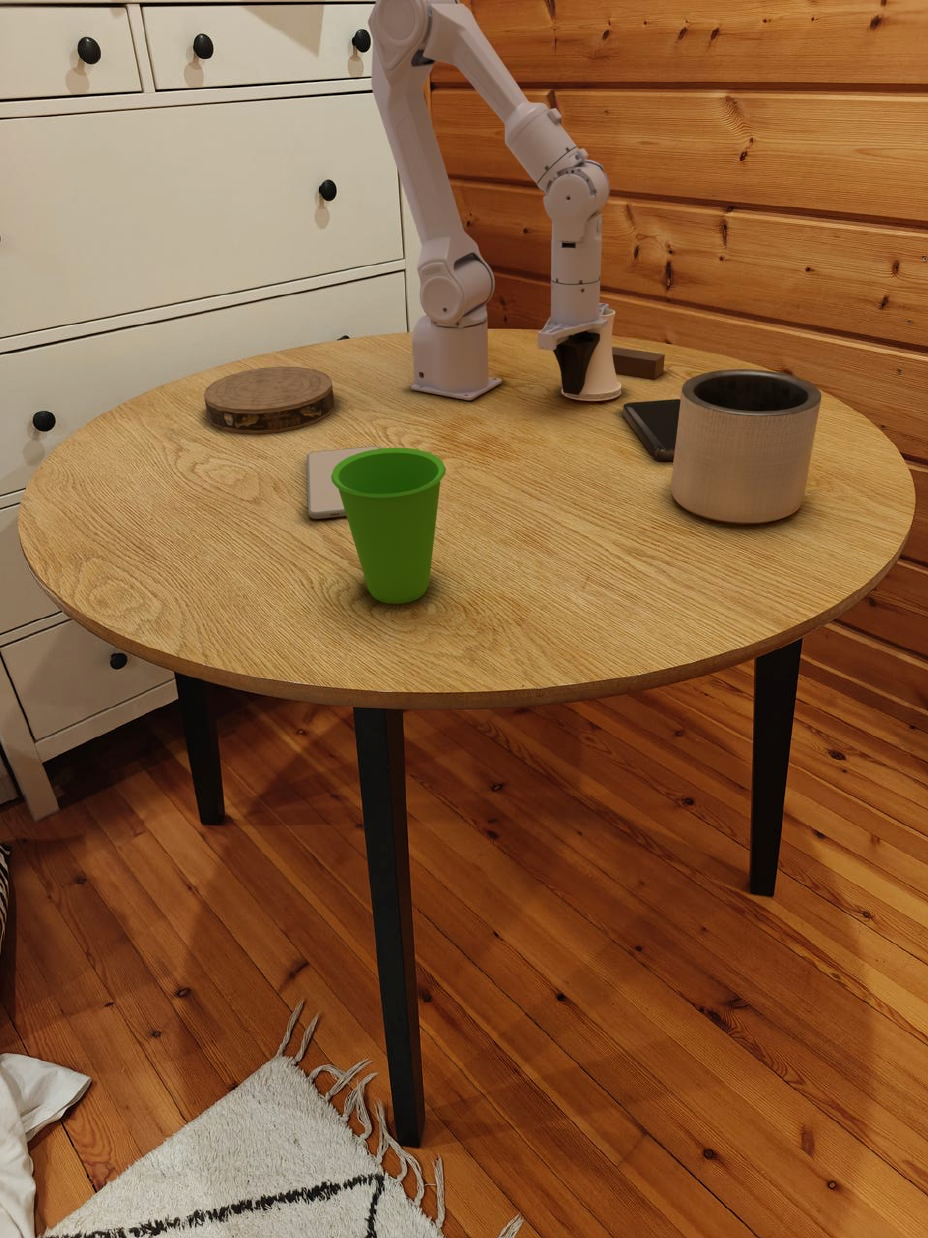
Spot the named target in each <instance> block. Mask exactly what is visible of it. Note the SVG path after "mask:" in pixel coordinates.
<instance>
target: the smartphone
mask: <svg viewBox="0 0 928 1238" xmlns="http://www.w3.org/2000/svg"><path fill="white" fill-rule="evenodd" d="M375 449H381V447H380V446H377V445H369V446H359V447H349V448H338V449H327V450H317V451H311V452H309V453H307V455H306V482H307V484H306V485H307V486H306V487H307V513H308V517H310V518H311V519H315V520H319V519H328V518H330V519H331V518H337V517H338V518H339V517H347V516H346V513H345V509H344V506H343V503H342V499H341V496H340V493H339V489H338V488H337V487H336V486H335V485H334V484H333V483H332V479H331V475H332V472H333V470H334V468H335V467H336V465H337V464H338V463H339V462H341V461H343V460H344V459H346V458H348V457H350V456H352V455H355V454H357V453H361V452H365V451H369V450H375Z"/></svg>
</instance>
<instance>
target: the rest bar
mask: <svg viewBox="0 0 928 1238" xmlns="http://www.w3.org/2000/svg"><path fill="white" fill-rule="evenodd" d="M612 357H613V364H614V369H615V373H616V374H619V375H626V376H632V377H637V378H645V379H649V380H656V379H657V378H658V377H660V376H661V375H663V374H664V371H665V360H666V359H665V357H666V354H664V353H657V352H650V351H643V350H637V349H631V348H624V347H623V348H622V347H617V346H612Z"/></svg>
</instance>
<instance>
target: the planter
mask: <svg viewBox="0 0 928 1238" xmlns="http://www.w3.org/2000/svg"><path fill="white" fill-rule="evenodd" d="M680 399H681V401H680V411H679V420H678V429H677V438H676V446H675V454H674V460H673V462H672V472H671V482H670V490H671V496H672V497H673V499H674V500H675V502H677V503H678V505H680V507H682V508H684V509H685V510H686V511H688V512H690V513H691V514H693V515H695V516H697V517H699V518H702V519H704V520H708V521H713V522H716V523H721V524H728V525H738V526H749V525H750V526H753V525H764V524H768V523H773V522H777V521H780V520H782V519H785V518H786V517H789V516H790V515H792V514H794V513H796V512H797V511H798V510H799V509H800V508H801V506H802V504H803V502H804V498H805V494H806V489H807V483H808V477H809V472H810V465H811V460H812V453H813V447H814V443H815V436H816V431H817V424H818V419H819V414H820V407H821V402H822V392H821V391H820V389H819V388H818V387H817V386H815V385H814V384H813V383H811V382H809V381H807V380H806V379H803V378H800V377H797V376H795V375H791V374H787V373H783V372H777V371H773V370H764V369H749V368H748V369H747V368H738V369H737V368H734V369H732V368H731V369H721V370H720V369H719V370H713V371H708V372H703V373H701V374H698V375H695V376H693V377H691V378H688V379H687V380H686V381H685V382H684V383H683V384H682V385H681V393H680Z"/></svg>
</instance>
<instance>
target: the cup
mask: <svg viewBox="0 0 928 1238" xmlns="http://www.w3.org/2000/svg"><path fill="white" fill-rule="evenodd" d="M380 448H381V447H380ZM446 471H447V469H446V466H445V464H444V462H443V460H442V459H440V457H438V456H437V455H435V454H433V453H431V452H429V451H426V450H421V449H419V448H409V447H383V448H381V449H375V450H369V451H365V452H361V453H357V454H355V455H352V456H350V457H348V458H346V459H344V460H343V461H341V462H339V463H338V464H337V465H336V467H335V468H334V470H333V472H332V475H331V479H332V483H333V484H334V485H335V486H336V487H337V488H338V489H339V493H340V496H341V499H342V503H343V506H344V509H345V513H346V516H345V517H346V520H347V522H348V526H349V529H350V533H351V536H352V540H353V543H354V547H355V550H356V553H357V556H358V560H359V563H360V566H361V571H362V574H363V576H364V581H365V584H366V587H367V591H369V593H370V594H371V596H372V597H373V598H374V599H375V600H377V601H379V602H382V603H385V604H392V605H398V604H399V605H400V604H406V603H411V602H413V601H416V600H418V599H420V598H421V597H423V596H424V595H425V594H426V592H427V590H428V587H429V586H430V579H431V571H432V570H431V569H432V561H433V553H434V545H435V544H434V542H435V534H436V526H437V525H436V524H437V516H438V507H439V497H440V488H441V482H442V479H443V478H444V477H445V475H446Z"/></svg>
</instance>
